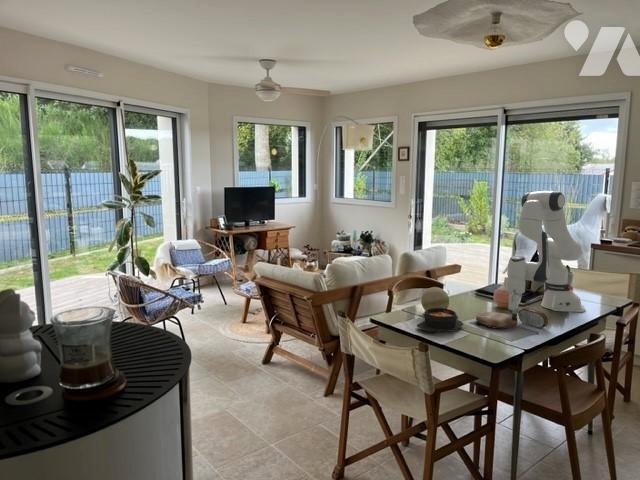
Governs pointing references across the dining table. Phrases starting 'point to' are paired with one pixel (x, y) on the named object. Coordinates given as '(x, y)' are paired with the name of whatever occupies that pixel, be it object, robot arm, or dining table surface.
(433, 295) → the decorative ball
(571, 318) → the dining table surface
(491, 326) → the turntable base
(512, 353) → the dining table surface
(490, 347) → the dining table surface
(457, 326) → the casserole
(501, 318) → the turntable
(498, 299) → the vase
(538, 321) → the tin
